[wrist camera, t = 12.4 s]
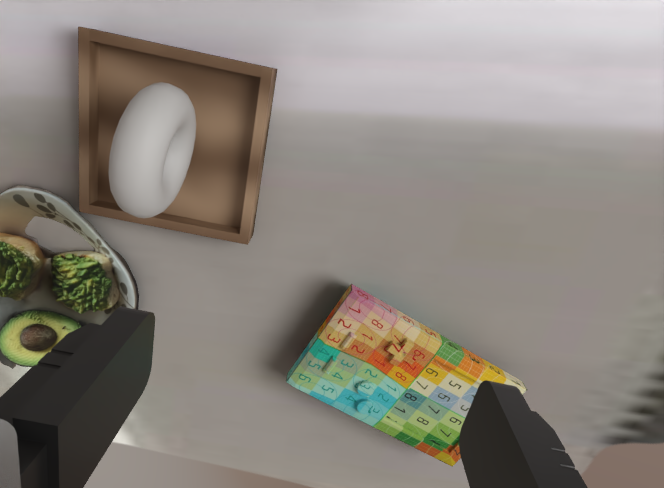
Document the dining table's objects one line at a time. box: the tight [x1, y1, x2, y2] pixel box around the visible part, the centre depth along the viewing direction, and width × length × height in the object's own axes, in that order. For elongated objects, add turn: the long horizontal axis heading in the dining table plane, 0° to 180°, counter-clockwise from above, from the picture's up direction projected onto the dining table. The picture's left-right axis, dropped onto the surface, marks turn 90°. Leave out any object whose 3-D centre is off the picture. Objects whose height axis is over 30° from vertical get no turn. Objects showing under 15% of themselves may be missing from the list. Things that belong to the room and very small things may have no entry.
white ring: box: [109, 82, 196, 218], centre depth 32 cm, size 10×4×10 cm, turn 162°
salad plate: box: [0, 185, 139, 369], centre depth 41 cm, size 19×18×5 cm
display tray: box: [78, 27, 277, 245], centre depth 37 cm, size 15×15×2 cm
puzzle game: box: [286, 284, 527, 466], centre depth 44 cm, size 12×5×20 cm
